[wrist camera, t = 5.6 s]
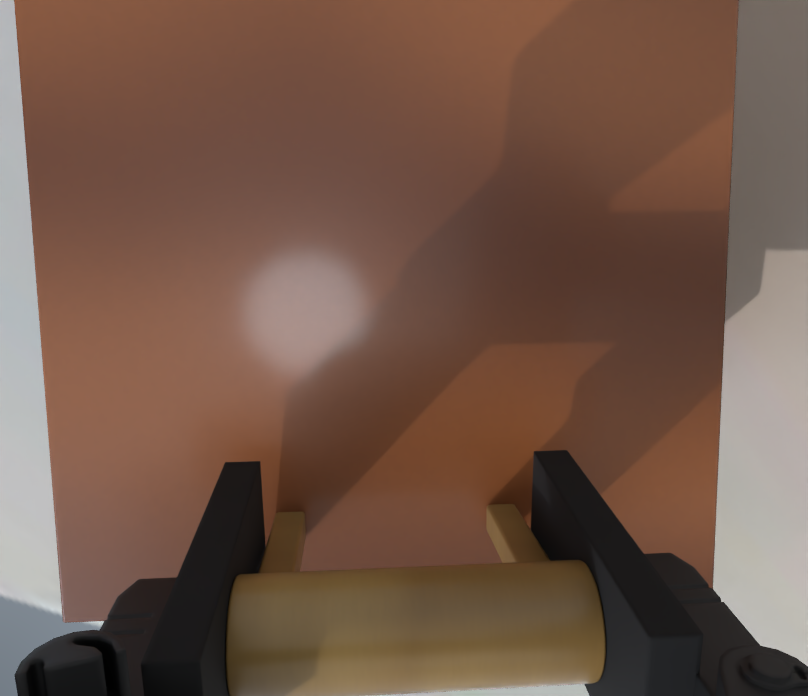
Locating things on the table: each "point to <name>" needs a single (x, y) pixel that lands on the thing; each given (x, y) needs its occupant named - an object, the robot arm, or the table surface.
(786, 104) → the table surface
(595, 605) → the case lid
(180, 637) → the robot arm
